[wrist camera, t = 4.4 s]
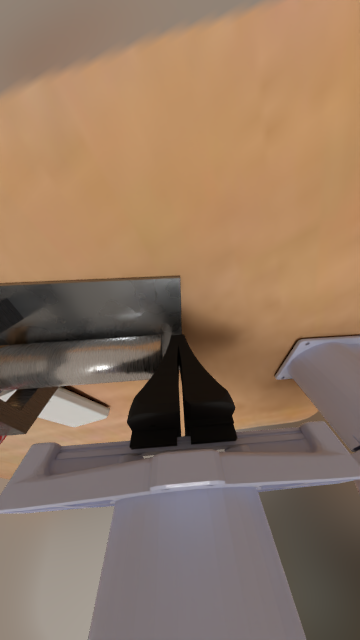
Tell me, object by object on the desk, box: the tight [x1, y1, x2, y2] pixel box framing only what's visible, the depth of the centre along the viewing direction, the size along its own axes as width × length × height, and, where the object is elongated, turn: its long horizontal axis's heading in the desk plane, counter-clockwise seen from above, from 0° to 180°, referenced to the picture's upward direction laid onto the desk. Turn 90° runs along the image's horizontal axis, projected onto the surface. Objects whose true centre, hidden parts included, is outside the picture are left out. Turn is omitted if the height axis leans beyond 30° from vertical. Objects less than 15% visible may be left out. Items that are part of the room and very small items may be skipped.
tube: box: [0, 335, 165, 391], centre depth 13 cm, size 18×4×4 cm
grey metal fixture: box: [0, 276, 182, 436], centre depth 11 cm, size 24×12×7 cm, turn 91°
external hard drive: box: [0, 387, 110, 427], centre depth 20 cm, size 2×8×12 cm
